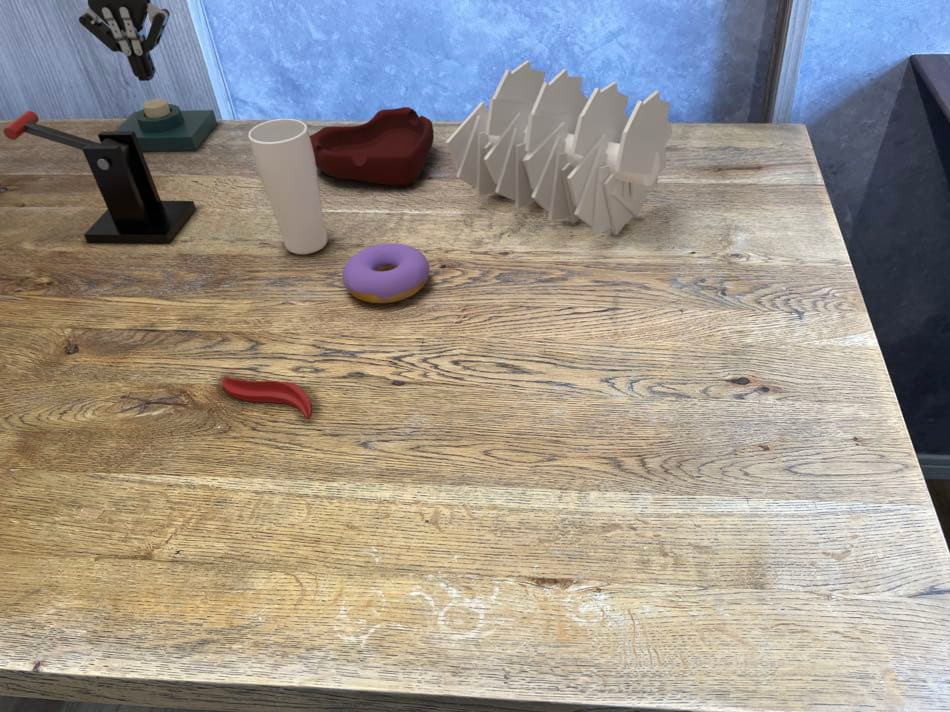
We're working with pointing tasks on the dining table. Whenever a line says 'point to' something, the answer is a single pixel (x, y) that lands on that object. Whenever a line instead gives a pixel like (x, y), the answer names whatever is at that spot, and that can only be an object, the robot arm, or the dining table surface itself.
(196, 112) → the control block
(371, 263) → the donut
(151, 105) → the button
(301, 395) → the cayenne pepper
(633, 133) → the spiral staircase
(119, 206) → the bracket
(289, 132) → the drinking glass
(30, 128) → the lever
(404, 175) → the ashtray
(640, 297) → the dining table surface
